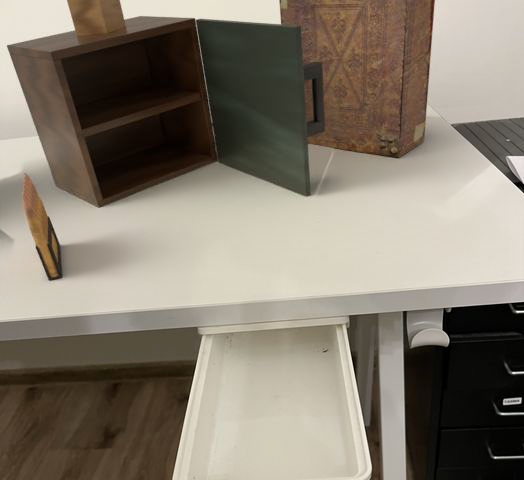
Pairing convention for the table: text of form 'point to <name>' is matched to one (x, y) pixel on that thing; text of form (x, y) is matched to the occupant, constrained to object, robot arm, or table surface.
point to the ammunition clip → (42, 230)
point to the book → (367, 70)
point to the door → (261, 99)
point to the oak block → (96, 16)
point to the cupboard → (118, 106)
